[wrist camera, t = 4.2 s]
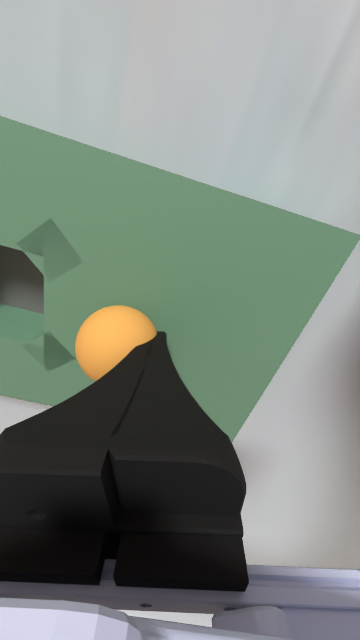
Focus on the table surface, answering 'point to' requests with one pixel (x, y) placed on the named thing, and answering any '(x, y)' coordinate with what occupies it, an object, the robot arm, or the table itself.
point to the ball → (110, 338)
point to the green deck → (149, 271)
